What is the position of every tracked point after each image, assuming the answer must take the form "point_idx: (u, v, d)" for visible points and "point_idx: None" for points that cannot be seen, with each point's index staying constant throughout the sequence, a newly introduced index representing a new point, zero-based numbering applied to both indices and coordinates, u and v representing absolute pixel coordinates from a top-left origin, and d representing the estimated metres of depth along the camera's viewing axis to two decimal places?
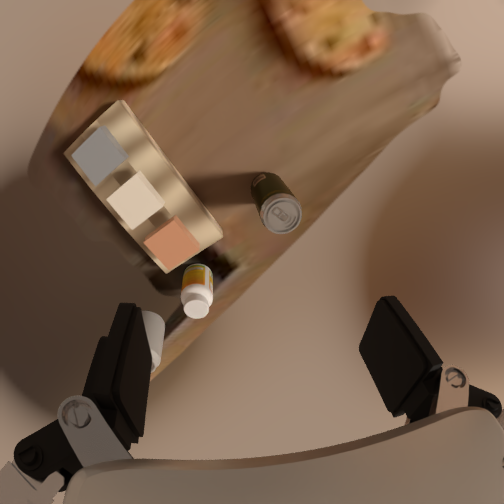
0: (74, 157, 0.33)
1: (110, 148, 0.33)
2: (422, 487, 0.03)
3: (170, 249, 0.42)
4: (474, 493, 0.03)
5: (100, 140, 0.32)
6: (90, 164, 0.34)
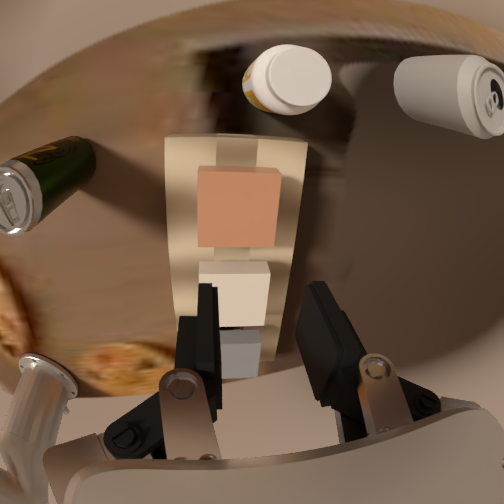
0: (255, 374, 0.31)
1: None
2: (422, 487, 0.03)
3: (243, 207, 0.21)
4: (474, 493, 0.03)
5: None
6: (244, 361, 0.30)
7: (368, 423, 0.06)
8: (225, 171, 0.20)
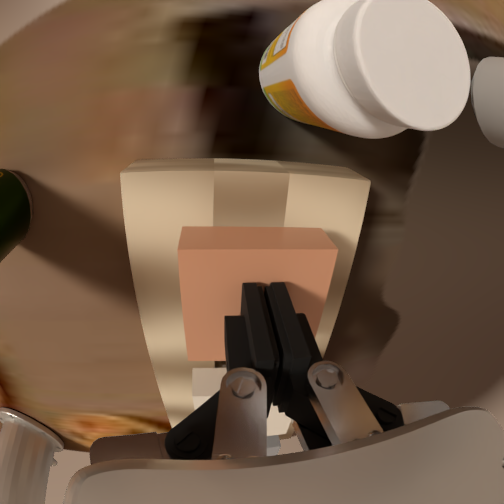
0: None
1: None
2: (422, 487, 0.03)
3: None
4: (474, 493, 0.03)
5: None
6: None
7: (332, 438, 0.06)
8: (232, 247, 0.10)
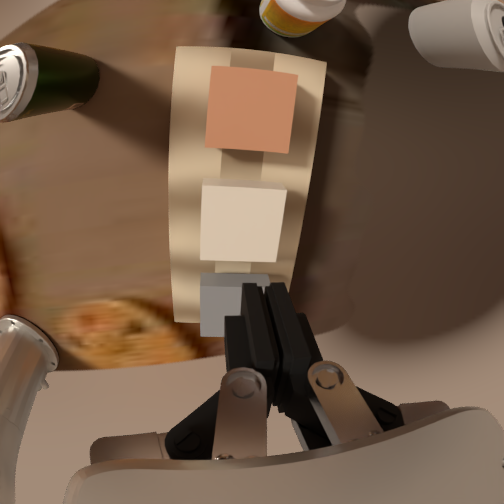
0: None
1: (208, 310, 0.25)
2: (422, 487, 0.03)
3: (256, 105, 0.18)
4: (474, 493, 0.03)
5: (212, 325, 0.26)
6: None
7: (332, 437, 0.06)
8: (240, 67, 0.17)
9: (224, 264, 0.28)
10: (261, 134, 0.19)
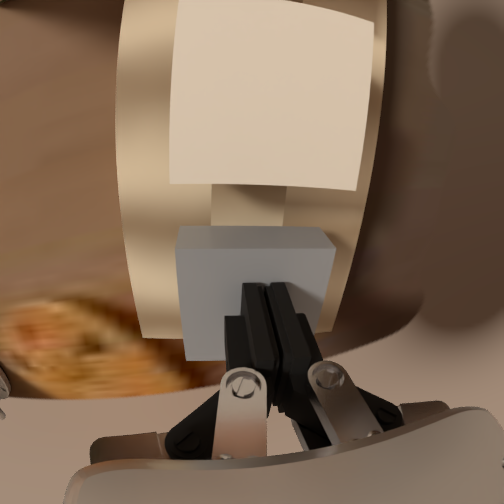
0: None
1: (197, 307, 0.11)
2: (422, 487, 0.03)
3: None
4: (474, 493, 0.03)
5: (208, 338, 0.12)
6: None
7: (332, 437, 0.06)
8: None
9: (231, 220, 0.13)
10: None
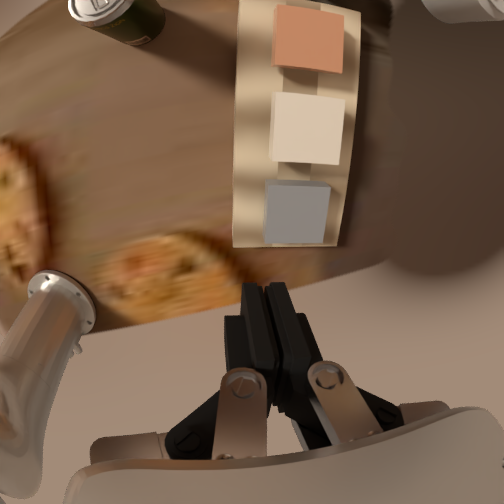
0: (321, 237, 0.29)
1: (274, 212, 0.27)
2: (422, 487, 0.03)
3: (315, 34, 0.19)
4: (474, 493, 0.03)
5: (277, 229, 0.28)
6: (311, 215, 0.28)
7: (332, 438, 0.06)
8: (299, 7, 0.17)
9: None
10: (320, 56, 0.20)
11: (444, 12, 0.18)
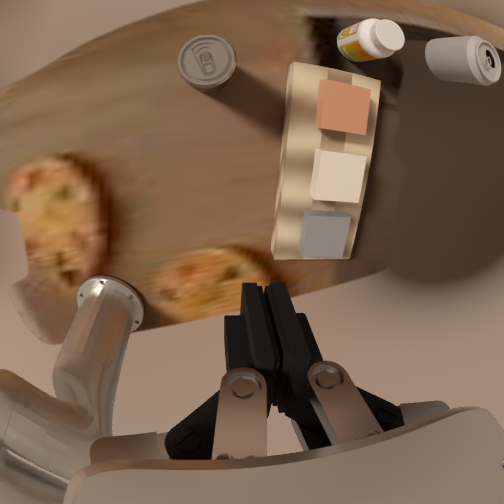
0: (341, 253, 0.39)
1: (310, 234, 0.37)
2: (422, 487, 0.03)
3: (349, 105, 0.29)
4: (474, 493, 0.03)
5: (311, 247, 0.38)
6: (336, 237, 0.38)
7: (332, 438, 0.06)
8: (340, 82, 0.28)
9: None
10: (351, 123, 0.30)
11: (444, 75, 0.29)
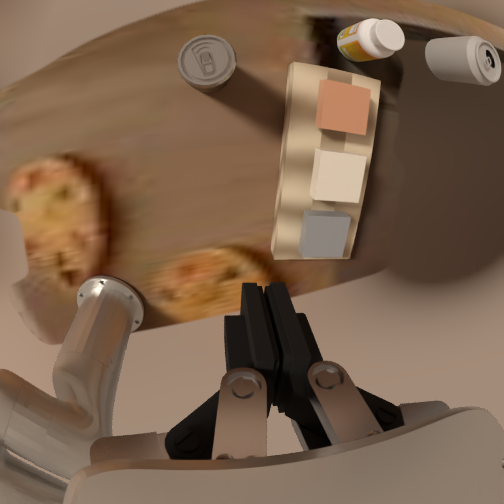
0: (341, 253, 0.39)
1: (310, 234, 0.37)
2: (422, 487, 0.03)
3: (349, 105, 0.29)
4: (474, 493, 0.03)
5: (311, 247, 0.38)
6: (336, 237, 0.38)
7: (332, 438, 0.06)
8: (340, 82, 0.28)
9: None
10: (351, 123, 0.30)
11: (444, 75, 0.29)
